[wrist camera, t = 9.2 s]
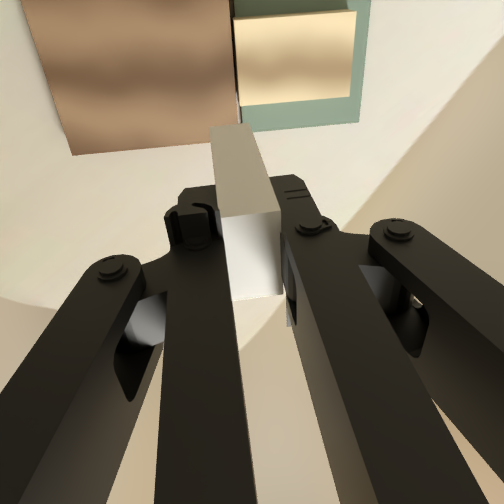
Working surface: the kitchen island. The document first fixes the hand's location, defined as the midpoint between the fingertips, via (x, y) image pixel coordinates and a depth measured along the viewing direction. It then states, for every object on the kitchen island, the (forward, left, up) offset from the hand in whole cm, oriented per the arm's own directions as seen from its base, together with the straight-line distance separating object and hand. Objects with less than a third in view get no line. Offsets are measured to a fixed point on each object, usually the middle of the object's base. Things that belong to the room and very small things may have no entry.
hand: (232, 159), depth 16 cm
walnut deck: (0, -5, -21) cm, 21 cm away
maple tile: (0, +6, -20) cm, 21 cm away
